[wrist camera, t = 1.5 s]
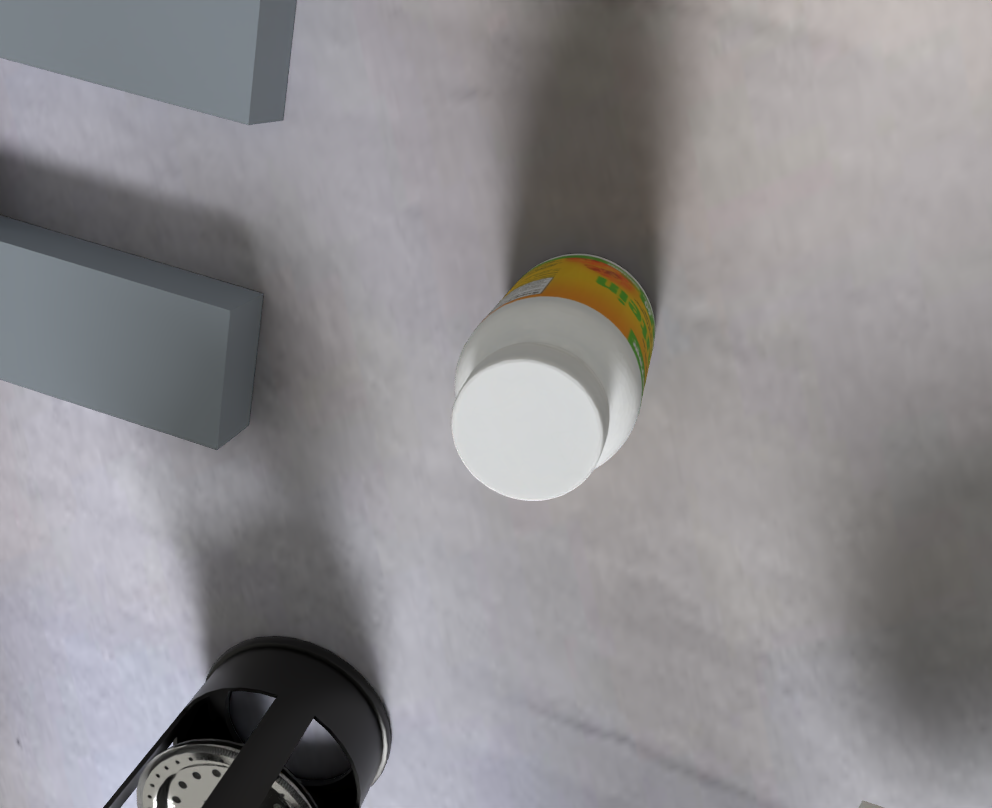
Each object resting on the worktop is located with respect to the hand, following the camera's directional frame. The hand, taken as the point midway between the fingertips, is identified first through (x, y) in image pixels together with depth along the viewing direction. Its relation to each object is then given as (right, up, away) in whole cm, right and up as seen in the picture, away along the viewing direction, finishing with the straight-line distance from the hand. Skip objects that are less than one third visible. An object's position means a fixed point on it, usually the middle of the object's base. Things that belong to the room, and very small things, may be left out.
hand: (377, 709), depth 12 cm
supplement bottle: (+5, +7, +18) cm, 20 cm away
